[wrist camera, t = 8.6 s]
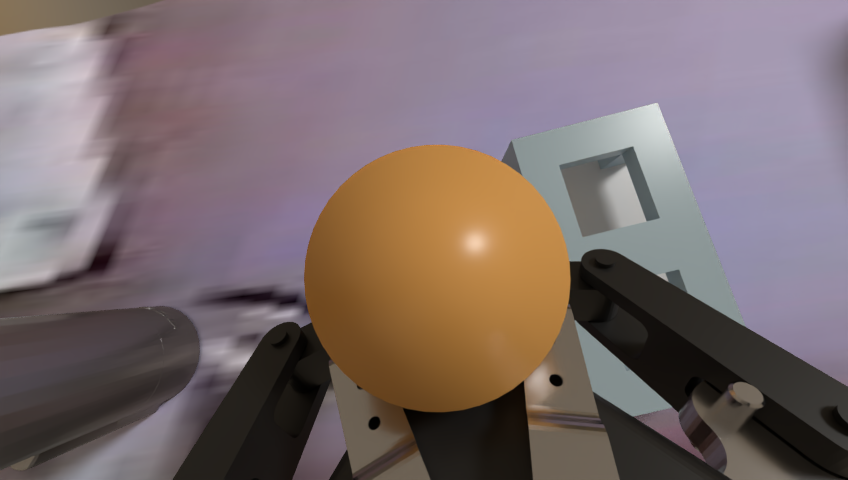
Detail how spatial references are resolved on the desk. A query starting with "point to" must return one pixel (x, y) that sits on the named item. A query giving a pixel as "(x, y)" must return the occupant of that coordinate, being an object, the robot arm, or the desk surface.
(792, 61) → the desk surface
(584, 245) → the grey hollow block
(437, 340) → the orange ball-topped peg
